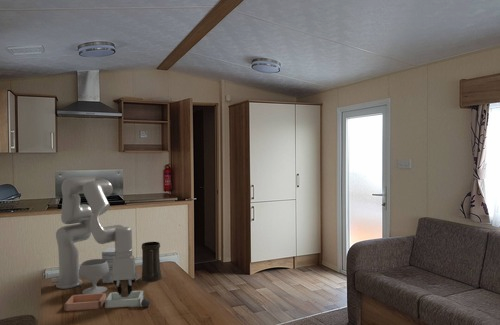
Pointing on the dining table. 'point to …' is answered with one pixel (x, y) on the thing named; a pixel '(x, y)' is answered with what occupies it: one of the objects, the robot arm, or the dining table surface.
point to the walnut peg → (124, 288)
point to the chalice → (94, 274)
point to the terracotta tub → (85, 301)
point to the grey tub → (124, 300)
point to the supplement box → (109, 258)
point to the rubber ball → (145, 302)
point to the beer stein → (150, 261)
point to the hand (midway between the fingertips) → (124, 293)
